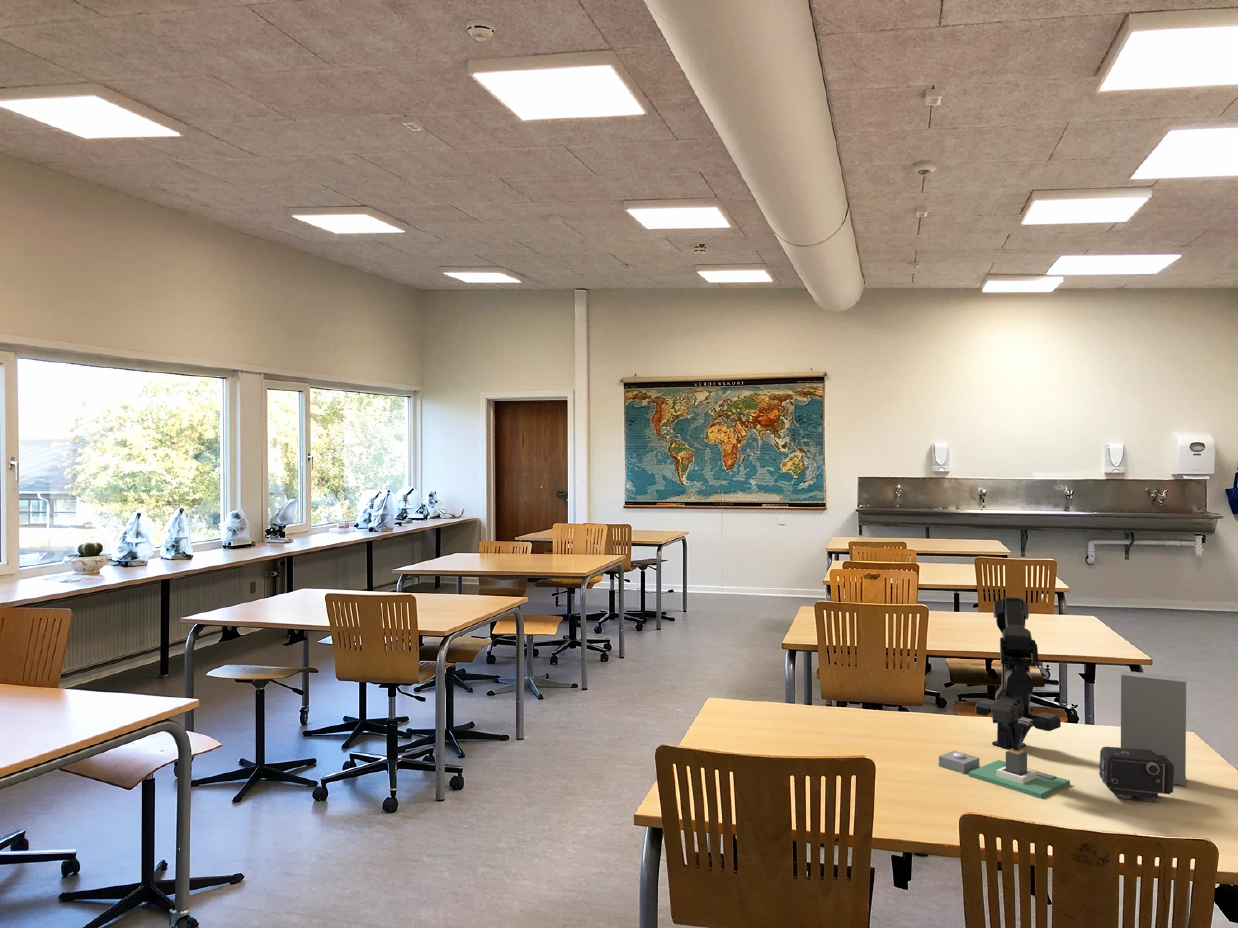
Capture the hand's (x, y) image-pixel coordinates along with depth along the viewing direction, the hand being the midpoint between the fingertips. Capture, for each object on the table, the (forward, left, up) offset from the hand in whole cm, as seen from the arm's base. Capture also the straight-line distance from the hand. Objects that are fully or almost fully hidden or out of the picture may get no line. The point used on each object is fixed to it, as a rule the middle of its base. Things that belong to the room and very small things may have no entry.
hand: (1016, 749), depth 216 cm
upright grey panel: (-29, +19, -8) cm, 36 cm away
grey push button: (+2, -14, -8) cm, 16 cm away
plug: (0, 0, -7) cm, 7 cm away
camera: (-12, +22, -8) cm, 26 cm away
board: (-1, 0, -8) cm, 8 cm away
